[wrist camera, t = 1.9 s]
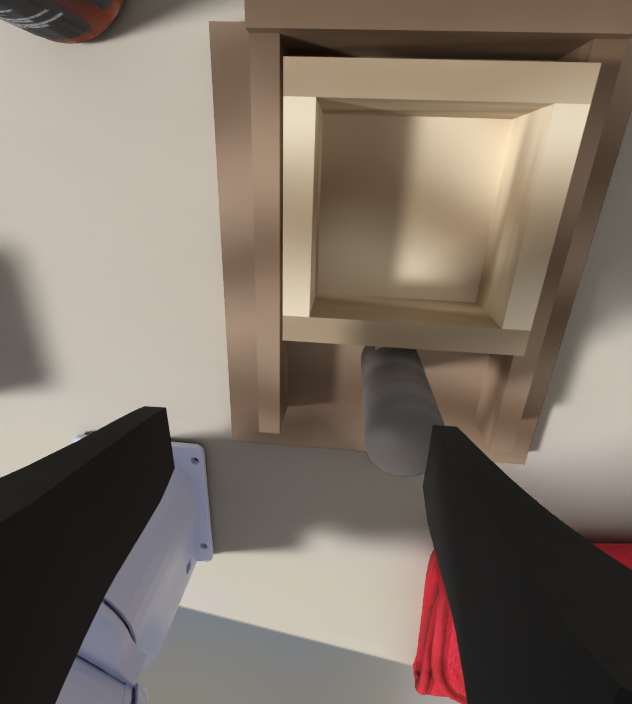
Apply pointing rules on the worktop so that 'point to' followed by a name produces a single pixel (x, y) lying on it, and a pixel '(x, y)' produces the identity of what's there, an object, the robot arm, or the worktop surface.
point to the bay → (267, 207)
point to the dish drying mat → (440, 637)
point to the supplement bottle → (61, 17)
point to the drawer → (422, 217)
